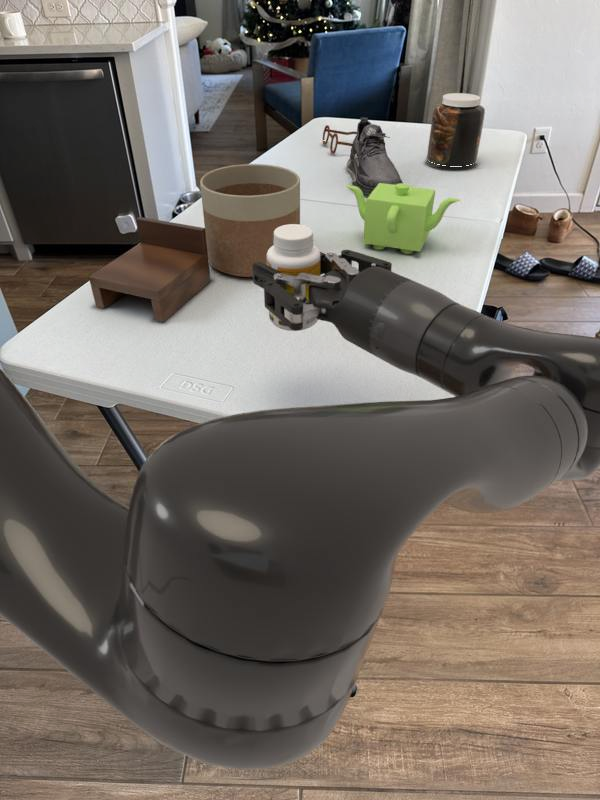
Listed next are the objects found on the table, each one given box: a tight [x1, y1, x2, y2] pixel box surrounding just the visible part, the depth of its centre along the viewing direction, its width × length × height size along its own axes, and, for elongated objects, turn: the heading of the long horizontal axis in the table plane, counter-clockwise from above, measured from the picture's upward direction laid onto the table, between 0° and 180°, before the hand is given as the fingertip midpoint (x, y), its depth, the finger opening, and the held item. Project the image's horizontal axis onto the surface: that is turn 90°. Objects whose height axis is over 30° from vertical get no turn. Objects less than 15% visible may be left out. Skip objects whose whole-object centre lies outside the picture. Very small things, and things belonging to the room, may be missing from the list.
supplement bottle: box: [267, 224, 321, 332], centre depth 61 cm, size 6×6×10 cm
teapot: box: [345, 182, 461, 255], centre depth 102 cm, size 15×13×11 cm
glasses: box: [322, 124, 357, 155], centre depth 152 cm, size 13×13×5 cm
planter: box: [199, 163, 301, 278], centre depth 96 cm, size 16×16×14 cm
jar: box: [426, 92, 486, 171], centre depth 138 cm, size 12×12×15 cm
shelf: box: [88, 216, 212, 323], centre depth 88 cm, size 14×12×9 cm
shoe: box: [346, 117, 404, 196], centre depth 128 cm, size 10×27×12 cm, turn 8°
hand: (278, 262), depth 62 cm, fingers closed on supplement bottle, 5 cm apart
